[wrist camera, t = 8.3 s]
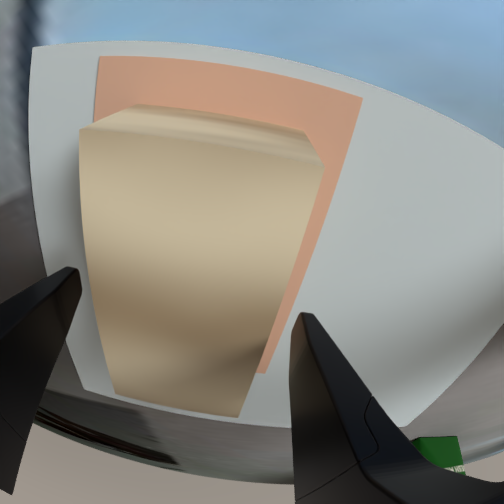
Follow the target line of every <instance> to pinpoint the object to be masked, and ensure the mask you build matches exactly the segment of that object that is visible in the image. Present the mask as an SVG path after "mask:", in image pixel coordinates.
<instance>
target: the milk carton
mask: <svg viewBox="0 0 504 504" xmlns="http://www.w3.org/2000/svg"><path fill="white" fill-rule="evenodd" d="M411 443H412V444H413V445H414V446H415V447H416V448H417V449H418V451H419V452H420V453H421V454H422V455H423V456H424V457H425V458H426V459H427V460H429V461H430V462H431V463H433V464H435V465H437V466H439V467H441V468H444V469H447V470H450V471H454V472H457V473H460V474H463V475H466V474H465V470H464V465H463V460H462V455H461V451H460V447H459V443H458V438H457V436H452V437H424V438H418V439H416V440H415V441H413V442H411Z"/></svg>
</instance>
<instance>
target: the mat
mask: <svg viewBox="0 0 504 504" xmlns="http://www.w3.org/2000/svg"><path fill="white" fill-rule="evenodd" d="M136 104H145V105H156V106H166V107H175V108H183V109H191V110H199V111H206V112H212V113H219V114H225V115H231V116H237V117H242V118H248V119H253V120H258V121H263V122H268V123H273V124H278V125H282V126H287V127H291V128H295V129H300V130H303V131H304V132H305V134H306V136H307V137H308V139H309V141H310V142H311V144H312V146H313V147H314V149H315V151H316V152H317V154H318V156H319V158H320V159H321V161H322V163H323V165H324V166H325V170H324V173H323V176H322V180H321V183H320V186H319V189H318V193H317V196H316V199H315V202H314V206H313V209H312V212H311V215H310V218H309V221H308V224H307V228H306V231H305V234H304V237H303V240H302V243H301V246H300V249H299V252H298V255H297V258H296V261H295V264H294V267H293V270H292V273H291V276H290V279H289V282H288V285H287V288H286V291H285V293H284V296H283V299H282V302H281V305H280V308H279V311H278V313H277V316H276V319H275V322H274V325H273V327H272V330H271V333H270V336H269V338H268V341H267V344H266V347H265V349H264V352H263V355H262V357H261V360H260V363H259V366H258V368H257V371H256V373H255V376H254V379H253V381H252V384H251V387H250V389H249V392H248V394H247V397H246V400H245V402H244V405H243V407H242V410H241V412H240V415H239V417H238V418H232V417H225V416H218V415H211V414H205V413H199V412H193V411H187V410H182V409H177V408H172V407H167V406H162V405H158V404H153V403H149V402H145V401H141V400H136V399H132V398H129V397H125V396H121V395H117V394H115V392H114V388H113V385H112V381H111V378H110V374H109V371H108V367H107V363H106V359H105V355H104V351H103V347H102V343H101V339H100V334H99V330H98V325H97V320H96V315H95V310H94V305H93V299H92V294H91V288H90V281H89V275H88V268H87V261H86V253H85V245H84V236H83V225H82V213H81V199H80V178H79V129H81V128H83V127H85V126H87V125H89V124H92V123H94V122H96V121H98V120H100V119H103V118H105V117H107V116H110V115H112V114H114V113H117V112H119V111H121V110H124V109H126V108H129V107H131V106H134V105H136ZM29 154H30V169H31V181H32V191H33V199H34V207H35V214H36V221H37V227H38V233H39V239H40V244H41V249H42V254H43V259H44V264H45V268H46V273H47V277H48V276H50V275H51V274H53V273H55V272H57V271H59V270H60V269H62V268H64V267H66V266H70V267H74V268H77V269H78V270H79V272H80V278H81V283H82V295H81V298H80V301H79V304H78V306H77V309H76V312H75V315H74V318H73V321H72V324H71V326H70V329H69V332H68V335H67V337H66V343H67V346H68V348H69V351H70V354H71V357H72V360H73V362H74V365H75V368H76V370H77V373H78V375H79V378H80V380H81V383H82V385H83V387H84V389H85V390H88V391H91V392H94V393H98V394H101V395H104V396H108V397H111V398H115V399H118V400H122V401H126V402H129V403H133V404H137V405H141V406H145V407H150V408H154V409H158V410H163V411H168V412H172V413H177V414H183V415H188V416H193V417H199V418H205V419H211V420H218V421H225V422H233V423H241V424H250V425H259V426H271V427H284V428H291V412H290V397H289V360H290V341H291V332H292V329H293V326H294V324H295V322H296V319H297V317H298V315H299V313H300V312H308V313H313V314H314V315H315V316H316V318H317V319H318V320H319V322H320V323H321V324H322V326H323V327H324V329H325V330H326V331H327V333H328V334H329V335H330V337H331V338H332V339H333V341H334V342H335V344H336V345H337V346H338V348H339V349H340V350H341V352H342V353H343V355H344V356H345V357H346V359H347V360H348V361H349V363H350V364H351V366H352V367H353V368H354V370H355V371H356V372H357V374H358V375H359V377H360V378H361V379H362V381H363V382H364V383H365V385H366V386H367V388H368V389H369V390H370V392H371V393H372V396H374V397H375V399H376V400H377V401H378V403H379V404H380V406H381V407H382V408H383V409H384V411H385V412H386V413H387V415H388V416H389V417H390V419H391V420H392V421H393V422H394V423H395V424H396V426H397V427H403V426H407V425H408V424H409V423H410V422H412V421H413V420H414V419H415V418H416V417H417V416H418V415H420V414H421V413H422V412H423V411H424V410H425V409H426V408H427V407H428V406H429V405H430V404H432V403H433V402H434V401H435V400H436V399H437V398H438V397H439V396H440V395H441V394H442V393H443V392H444V391H445V390H446V389H447V388H448V387H449V386H450V385H451V384H452V383H453V382H454V381H455V380H456V379H457V378H458V377H459V376H460V374H461V373H462V372H463V371H464V370H465V369H466V368H467V367H468V366H469V365H470V364H471V362H472V361H473V360H474V359H475V358H476V357H477V356H478V354H479V353H480V352H481V351H482V350H483V348H484V347H485V346H486V345H487V344H488V342H489V341H490V340H491V339H492V337H493V336H494V335H495V334H496V332H497V331H498V330H499V329H500V327H501V326H502V325H503V323H504V148H502V147H500V146H499V145H497V144H496V143H494V142H492V141H491V140H489V139H487V138H485V137H484V136H482V135H480V134H478V133H477V132H475V131H473V130H471V129H470V128H468V127H466V126H464V125H462V124H460V123H458V122H456V121H454V120H452V119H451V118H449V117H447V116H445V115H442V114H440V113H438V112H436V111H434V110H432V109H430V108H428V107H426V106H423V105H421V104H419V103H417V102H414V101H412V100H410V99H407V98H405V97H403V96H400V95H398V94H395V93H393V92H390V91H388V90H385V89H382V88H380V87H377V86H374V85H372V84H369V83H366V82H363V81H360V80H357V79H354V78H351V77H348V76H345V75H342V74H339V73H335V72H332V71H329V70H325V69H322V68H318V67H315V66H311V65H307V64H303V63H299V62H295V61H291V60H287V59H282V58H278V57H273V56H268V55H263V54H258V53H253V52H247V51H242V50H235V49H229V48H222V47H214V46H206V45H197V44H187V43H174V42H157V41H94V42H78V43H66V44H56V45H48V46H40V47H33V50H32V59H31V70H30V85H29Z"/></svg>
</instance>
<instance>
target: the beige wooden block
mask: <svg viewBox="0 0 504 504" xmlns="http://www.w3.org/2000/svg"><path fill="white" fill-rule="evenodd" d="M324 170H325V166H324V165H323V163H322V161H321V159H320V158H319V156H318V154H317V152H316V151H315V149H314V147H313V146H312V144H311V142H310V141H309V139H308V137H307V136H306V134H305V132H304V131H303V130H300V129H295V128H291V127H287V126H282V125H278V124H273V123H268V122H263V121H258V120H253V119H248V118H242V117H237V116H231V115H225V114H219V113H212V112H206V111H199V110H191V109H183V108H175V107H166V106H156V105H145V104H136V105H134V106H131V107H129V108H126V109H124V110H121V111H119V112H117V113H114V114H112V115H110V116H107V117H105V118H103V119H100V120H98V121H96V122H94V123H92V124H89V125H87V126H85V127H83V128H81V129H79V178H80V199H81V213H82V225H83V236H84V245H85V253H86V261H87V268H88V275H89V281H90V288H91V294H92V299H93V305H94V310H95V315H96V320H97V325H98V330H99V334H100V339H101V343H102V347H103V351H104V355H105V359H106V363H107V367H108V371H109V374H110V378H111V381H112V385H113V388H114V392H115V394H117V395H121V396H125V397H129V398H132V399H136V400H141V401H145V402H149V403H153V404H158V405H162V406H167V407H172V408H177V409H182V410H187V411H193V412H199V413H205V414H211V415H218V416H225V417H232V418H238V417H239V415H240V412H241V410H242V407H243V405H244V402H245V400H246V397H247V394H248V392H249V389H250V387H251V384H252V381H253V379H254V376H255V373H256V371H257V368H258V366H259V363H260V360H261V357H262V355H263V352H264V349H265V347H266V344H267V341H268V338H269V336H270V333H271V330H272V327H273V325H274V322H275V319H276V316H277V313H278V311H279V308H280V305H281V302H282V299H283V296H284V293H285V291H286V288H287V285H288V282H289V279H290V276H291V273H292V270H293V267H294V264H295V261H296V258H297V255H298V252H299V249H300V246H301V243H302V240H303V237H304V234H305V231H306V228H307V224H308V221H309V218H310V215H311V212H312V209H313V206H314V202H315V199H316V196H317V193H318V189H319V186H320V183H321V180H322V176H323V173H324Z"/></svg>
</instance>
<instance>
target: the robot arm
mask: <svg viewBox="0 0 504 504" xmlns="http://www.w3.org/2000/svg"><path fill="white" fill-rule="evenodd" d="M81 295H82V283H81V278H80V272H79V270H78V269H77V268H74V267H70V266H66V267H64V268H62V269H60V270H59V271H57V272H55V273H53V274H51V275H50V276H48V277H46V278H44V279H42V280H41V281H39V282H37V283H35V284H34V285H32V286H30V287H28V288H27V289H25V290H23V291H22V292H20V293H18V294H17V295H15V296H13V297H11V298H10V299H8V300H6V301H5V302H3V303H2V304H0V489H1V490H3V491H5V492H6V493H8V494H10V495H12V494H13V490H14V486H15V482H16V478H17V474H18V470H19V466H20V463H21V459H22V455H23V452H24V449H25V445H26V441H27V438H28V435H29V432H30V429H31V426H32V423H33V420H34V417H35V414H36V411H37V409H38V406H39V403H40V400H41V398H42V395H43V392H44V390H45V387H46V385H47V382H48V380H49V377H50V375H51V372H52V370H53V367H54V365H55V362H56V360H57V358H58V355H59V353H60V351H61V349H62V346H63V344H64V342H65V340H66V337H67V335H68V332H69V329H70V326H71V324H72V321H73V318H74V315H75V312H76V309H77V306H78V304H79V301H80V298H81ZM289 397H290V412H291V429H292V447H293V467H294V487H295V501H296V502H295V504H504V481H503V482H489V481H484V480H480V479H477V478H473V477H469V476H466V475H463V474H460V473H457V472H454V471H450V470H447V469H444V468H441V467H439V466H437V465H435V464H433V463H431V462H430V461H429V460H427V459H426V458H425V457H424V456H423V455H422V454H421V453H420V452H419V451H418V449H417V448H416V447H415V446H414V445H413V444H412V443H411V442H410V440H409V439H408V438H407V437H406V436H405V435H404V434H403V433H402V431H401V430H400V429H399V428H398V427H397V426H396V424H395V423H394V422H393V421H392V420H391V419H390V417H389V416H388V415H387V413H386V412H385V411H384V409H383V408H382V407H381V406H380V404H379V403H378V401H377V400H376V399H375V397H374V396H372V393H371V392H370V390H369V389H368V388H367V386H366V385H365V383H364V382H363V381H362V379H361V378H360V377H359V375H358V374H357V372H356V371H355V370H354V368H353V367H352V366H351V364H350V363H349V361H348V360H347V359H346V357H345V356H344V355H343V353H342V352H341V350H340V349H339V348H338V346H337V345H336V344H335V342H334V341H333V339H332V338H331V337H330V335H329V334H328V333H327V331H326V330H325V329H324V327H323V326H322V324H321V323H320V322H319V320H318V319H317V318H316V316H315V315H314V314H313V313H308V312H300V313H299V315H298V317H297V319H296V322H295V324H294V326H293V329H292V332H291V341H290V360H289Z"/></svg>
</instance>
